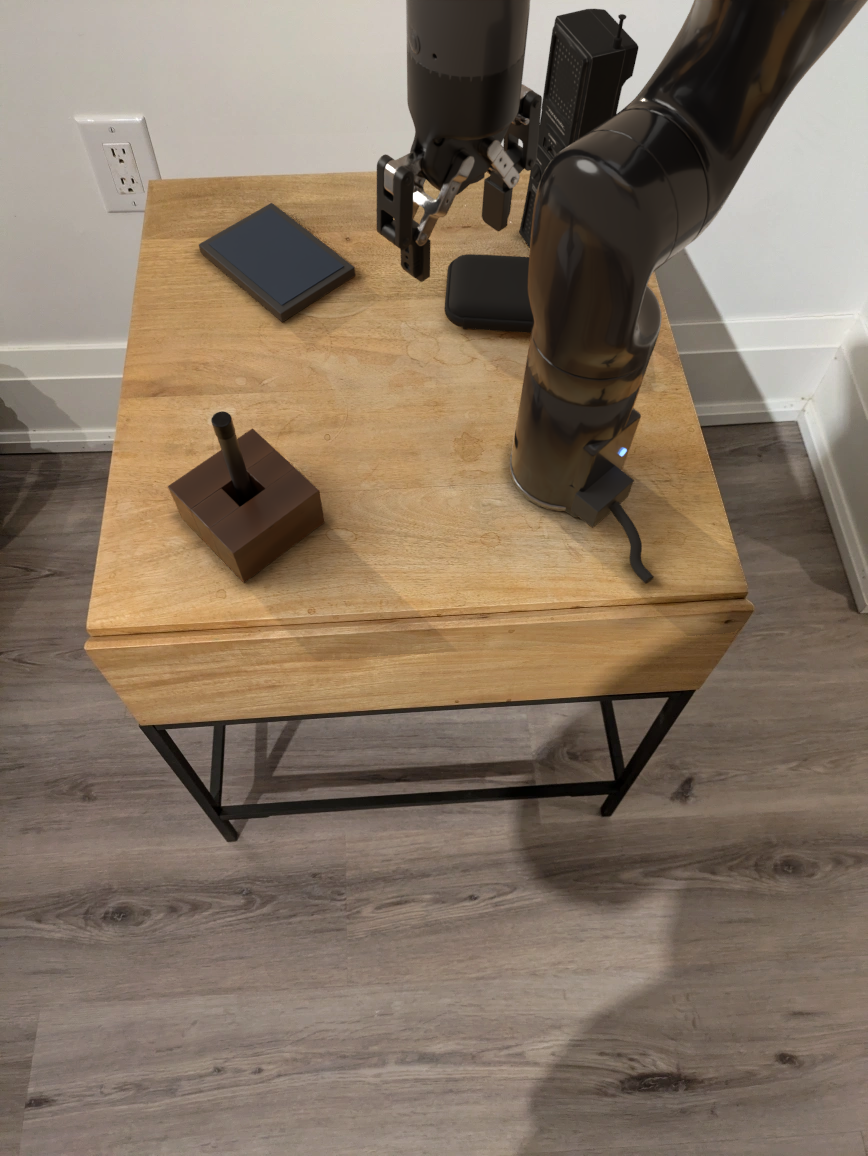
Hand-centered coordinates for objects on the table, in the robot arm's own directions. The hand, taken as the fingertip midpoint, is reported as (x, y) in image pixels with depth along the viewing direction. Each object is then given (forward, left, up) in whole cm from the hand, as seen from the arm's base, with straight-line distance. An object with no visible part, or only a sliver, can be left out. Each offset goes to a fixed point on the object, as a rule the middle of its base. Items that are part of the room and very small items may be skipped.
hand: (456, 249), depth 67 cm
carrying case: (+4, -13, -18) cm, 22 cm away
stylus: (+2, +23, -17) cm, 29 cm away
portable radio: (+8, -23, -18) cm, 30 cm away
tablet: (+26, +1, -17) cm, 31 cm away
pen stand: (+2, +23, -17) cm, 29 cm away
